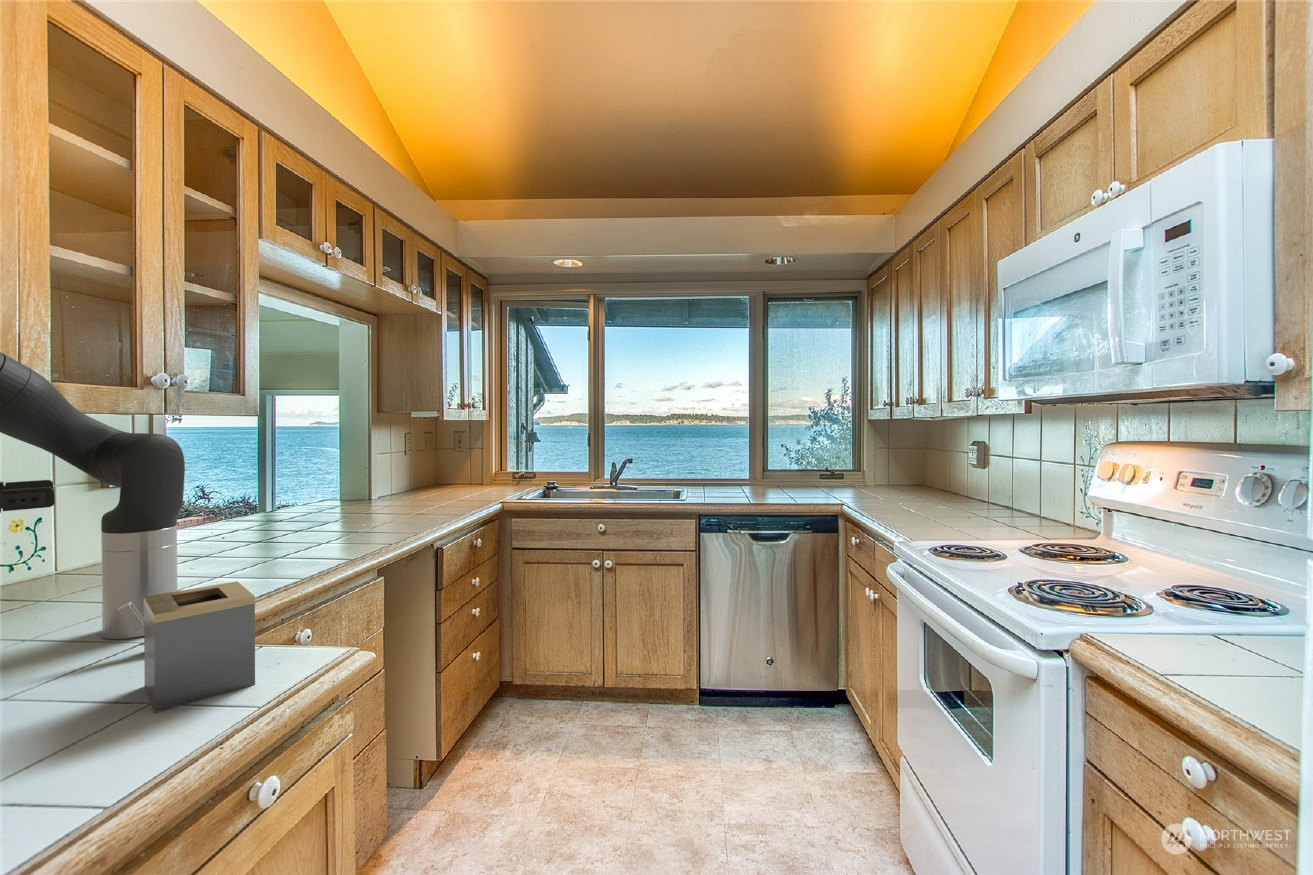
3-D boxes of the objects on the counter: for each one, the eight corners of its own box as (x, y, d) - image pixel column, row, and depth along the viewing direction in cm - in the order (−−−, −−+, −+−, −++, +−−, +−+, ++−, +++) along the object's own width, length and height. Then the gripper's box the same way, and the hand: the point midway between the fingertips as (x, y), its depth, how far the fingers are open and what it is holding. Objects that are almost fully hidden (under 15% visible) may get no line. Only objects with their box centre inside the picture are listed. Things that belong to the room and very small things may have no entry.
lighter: (182, 644, 86) (182, 594, 86) (181, 648, 84) (181, 597, 84) (120, 655, 82) (119, 602, 81) (117, 659, 80) (117, 605, 80)
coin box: (144, 685, 72) (143, 596, 72) (237, 662, 80) (237, 581, 79) (154, 713, 66) (153, 615, 65) (255, 684, 73) (254, 596, 73)
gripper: (-231, 479, 46) (53, 465, 58) (-186, 466, 55) (51, 456, 68) (-224, 565, 47) (57, 533, 59) (-181, 538, 56) (54, 515, 68)
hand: (53, 492), depth 63 cm, fingers open, 8 cm apart
